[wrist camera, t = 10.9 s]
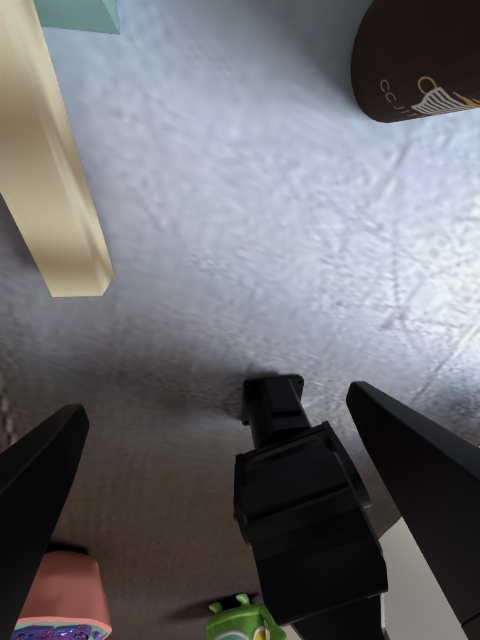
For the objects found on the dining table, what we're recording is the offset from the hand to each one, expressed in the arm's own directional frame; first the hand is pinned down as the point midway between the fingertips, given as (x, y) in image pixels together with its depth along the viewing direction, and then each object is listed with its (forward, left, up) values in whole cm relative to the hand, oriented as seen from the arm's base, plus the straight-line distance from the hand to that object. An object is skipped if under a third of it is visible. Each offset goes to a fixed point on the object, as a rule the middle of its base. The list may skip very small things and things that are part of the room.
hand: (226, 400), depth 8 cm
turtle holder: (-80, -4, -13) cm, 81 cm away
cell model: (-44, +25, -13) cm, 52 cm away
